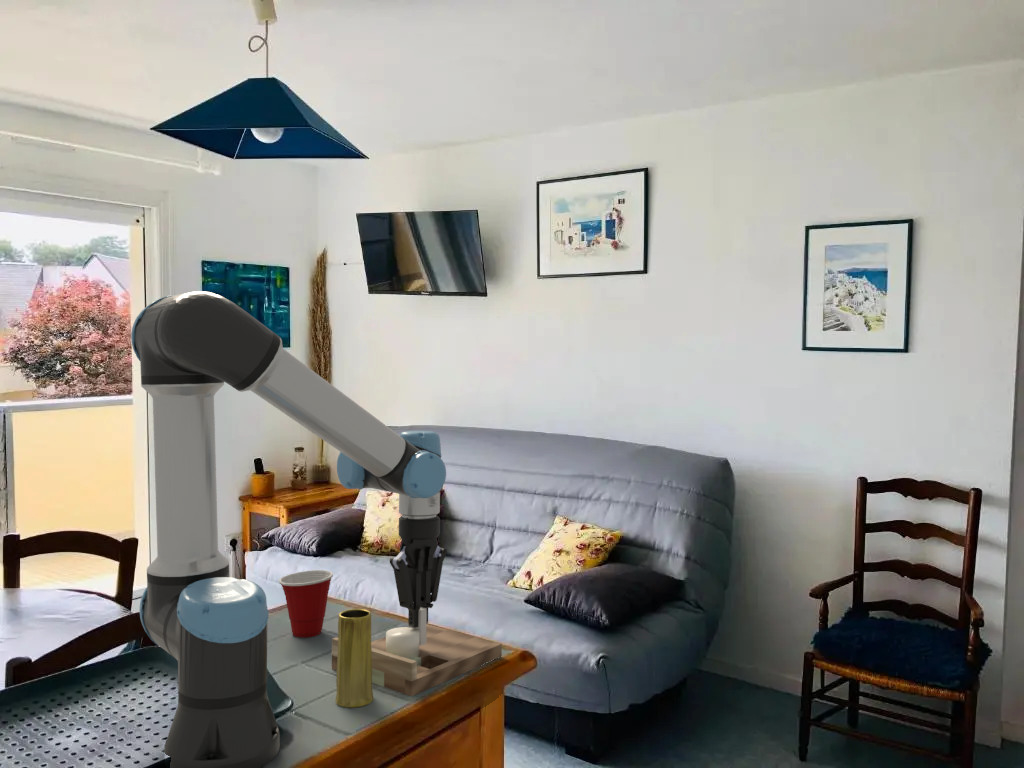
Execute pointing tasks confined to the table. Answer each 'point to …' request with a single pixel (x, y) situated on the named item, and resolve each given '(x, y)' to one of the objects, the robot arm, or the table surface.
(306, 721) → the table surface
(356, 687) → the vase
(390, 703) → the table surface
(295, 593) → the plastic cup
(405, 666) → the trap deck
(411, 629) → the white rounded block
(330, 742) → the table surface
